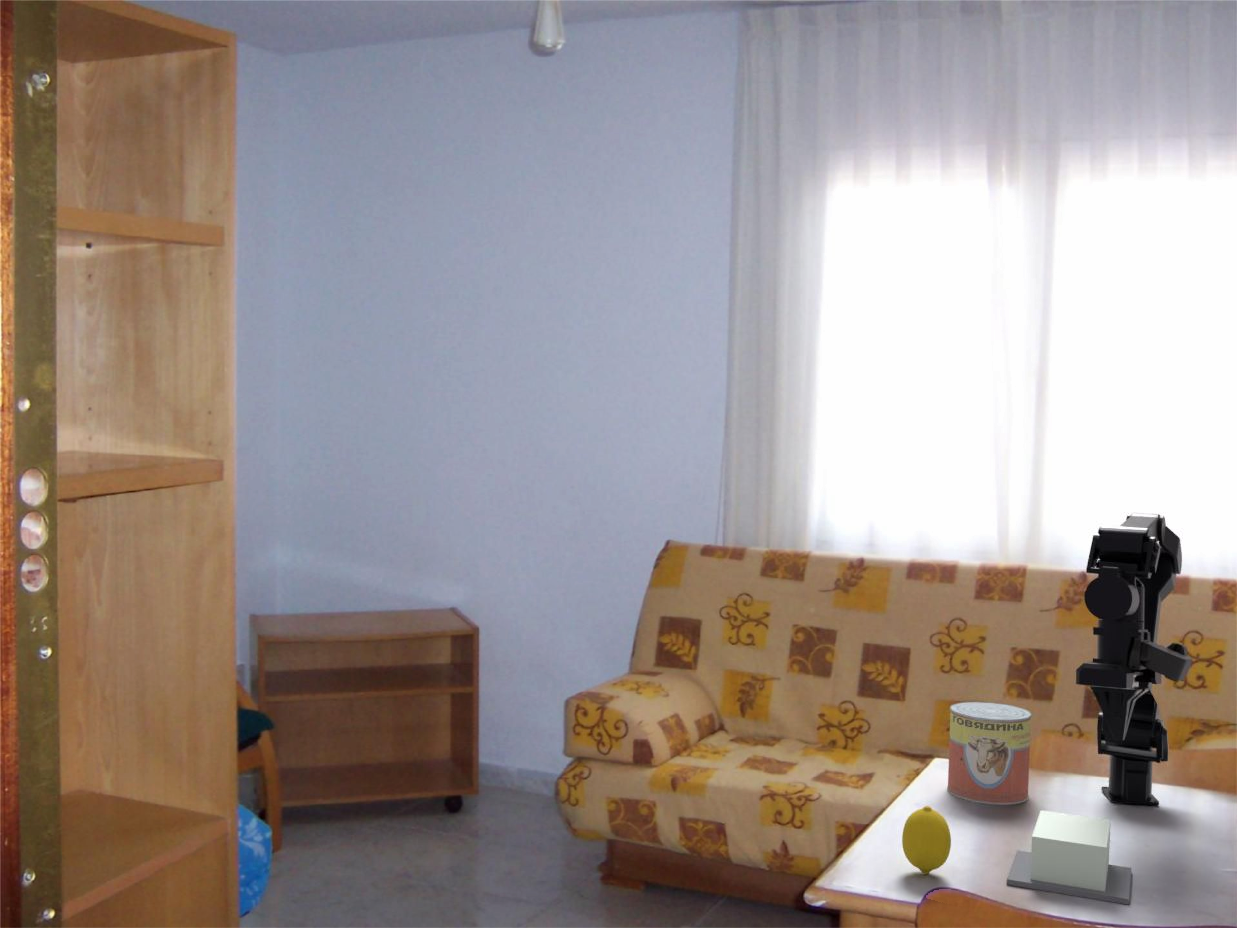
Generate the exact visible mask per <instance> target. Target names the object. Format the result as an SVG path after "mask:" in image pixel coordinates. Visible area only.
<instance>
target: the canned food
mask: <svg viewBox="0 0 1237 928" xmlns="http://www.w3.org/2000/svg"><path fill="white" fill-rule="evenodd" d="M949 710H950V715H949V745H948V747H949V748H948V771H947V773H948V776H947V787H946V791H947V792H948V793H949V794H951V795H952V796H954V797H956V798H958V799H962V800H965V801H968V802H973V803H978V804H983V805H994V806H995V805H996V806H997V805H998V806H1009V805H1019V804H1022V803H1025V802H1027V801H1028V800H1029V798H1030V797H1029V778H1030V777H1029V776H1030V754H1031V751H1030V749H1031V748H1030V747H1031V726H1032V725H1031V723H1032V716H1033V715H1032V713H1031V711H1030V710H1028V709H1027V708H1022V707H1019V706H1016V705H1011V704H1006V703H999V702H990V701H964V702H963V701H962V702H956V703H954V704H951V705H950V707H949Z"/></svg>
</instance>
